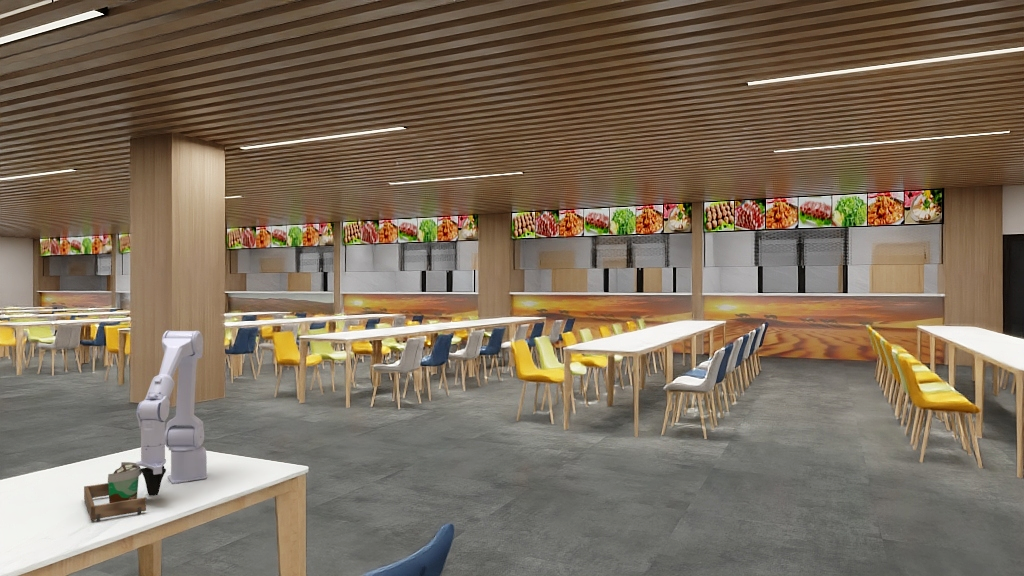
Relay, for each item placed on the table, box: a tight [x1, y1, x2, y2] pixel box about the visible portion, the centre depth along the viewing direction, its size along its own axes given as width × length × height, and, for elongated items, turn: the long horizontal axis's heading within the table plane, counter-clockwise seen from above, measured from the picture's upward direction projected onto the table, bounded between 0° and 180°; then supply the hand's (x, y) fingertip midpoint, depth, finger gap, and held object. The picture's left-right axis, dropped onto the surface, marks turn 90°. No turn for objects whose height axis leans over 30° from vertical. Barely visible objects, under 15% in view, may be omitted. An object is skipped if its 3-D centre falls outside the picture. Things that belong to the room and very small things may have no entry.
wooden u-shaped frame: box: [83, 482, 147, 522], centre depth 183 cm, size 12×21×4 cm, turn 36°
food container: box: [107, 461, 142, 503], centre depth 184 cm, size 12×6×10 cm, turn 14°
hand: (153, 494), depth 188 cm, fingers closed
